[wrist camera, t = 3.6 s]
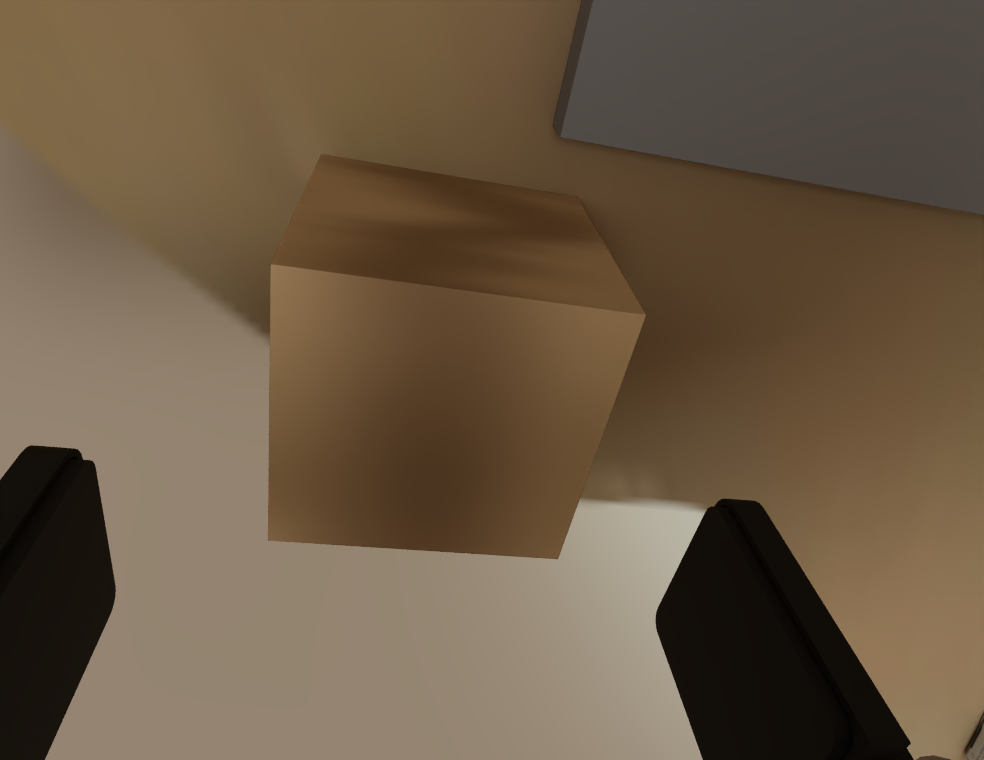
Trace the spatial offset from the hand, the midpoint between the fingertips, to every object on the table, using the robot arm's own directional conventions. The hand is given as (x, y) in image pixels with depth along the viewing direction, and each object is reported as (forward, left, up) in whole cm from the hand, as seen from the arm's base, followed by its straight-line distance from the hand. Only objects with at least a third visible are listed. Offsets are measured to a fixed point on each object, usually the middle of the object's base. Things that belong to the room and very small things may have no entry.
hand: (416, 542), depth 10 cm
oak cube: (0, 0, -8) cm, 8 cm away
